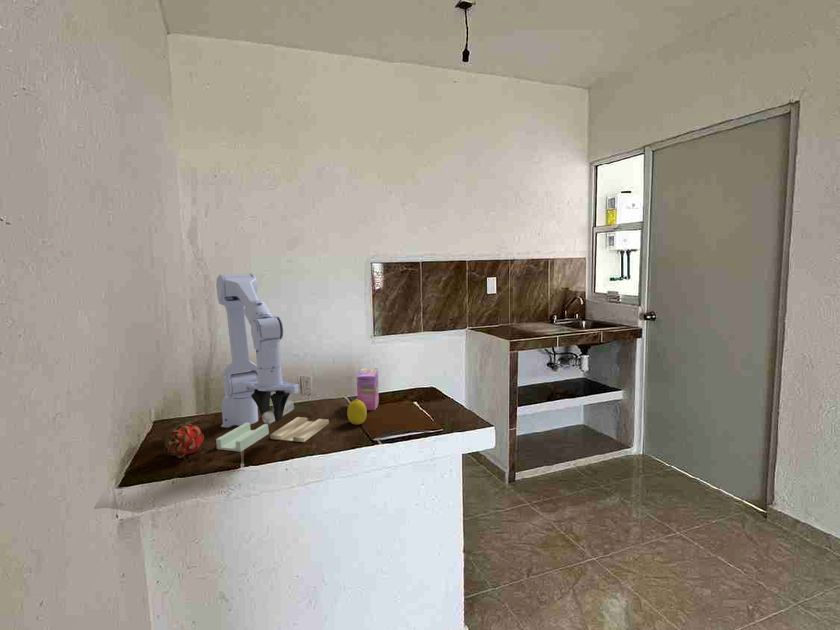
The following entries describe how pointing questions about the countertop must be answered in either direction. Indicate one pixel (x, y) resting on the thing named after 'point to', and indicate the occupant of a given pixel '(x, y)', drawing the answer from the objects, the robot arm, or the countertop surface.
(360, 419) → the lemon
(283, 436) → the grooved wooden board
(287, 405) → the axle
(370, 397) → the box
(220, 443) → the cradle
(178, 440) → the dragon fruit
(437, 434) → the countertop surface
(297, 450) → the countertop surface
